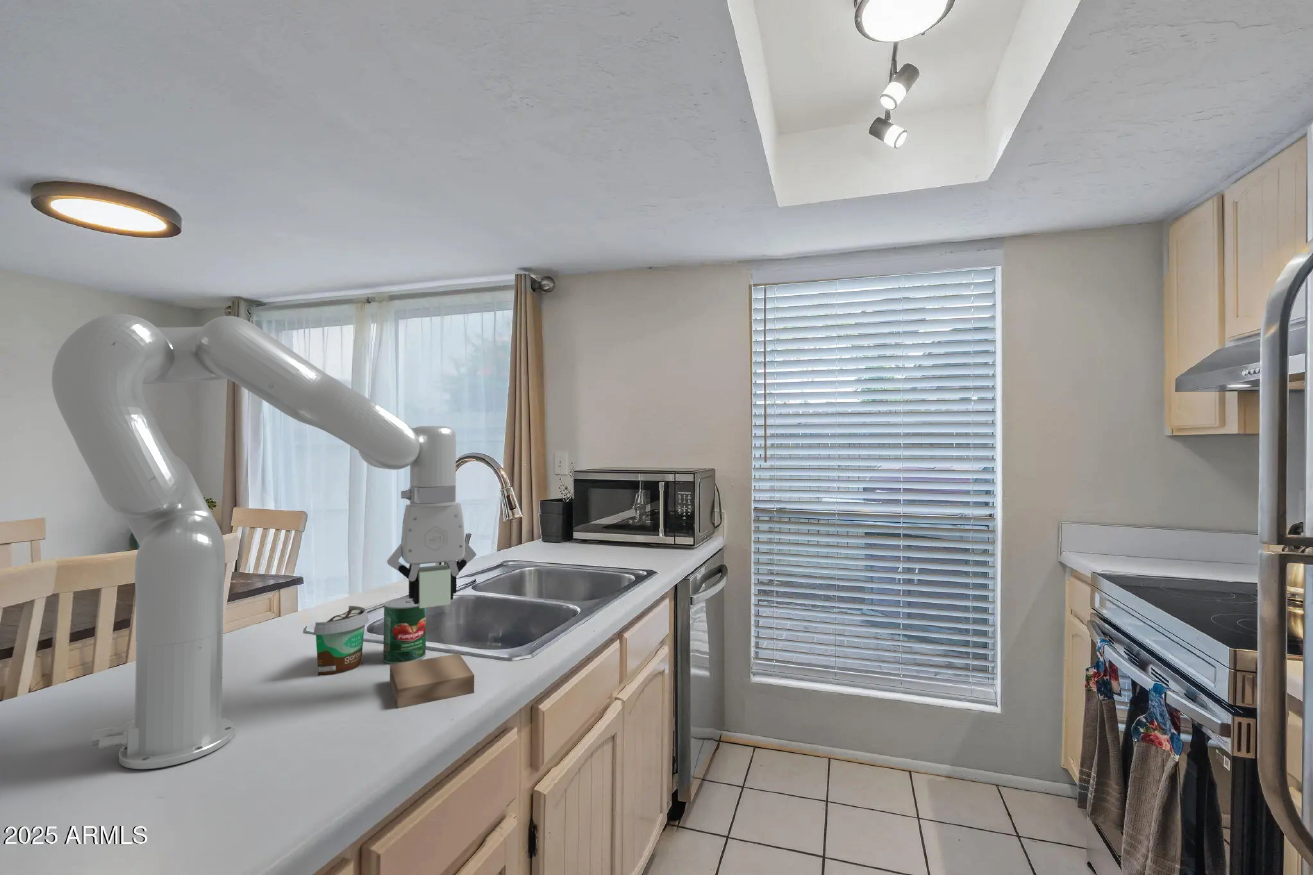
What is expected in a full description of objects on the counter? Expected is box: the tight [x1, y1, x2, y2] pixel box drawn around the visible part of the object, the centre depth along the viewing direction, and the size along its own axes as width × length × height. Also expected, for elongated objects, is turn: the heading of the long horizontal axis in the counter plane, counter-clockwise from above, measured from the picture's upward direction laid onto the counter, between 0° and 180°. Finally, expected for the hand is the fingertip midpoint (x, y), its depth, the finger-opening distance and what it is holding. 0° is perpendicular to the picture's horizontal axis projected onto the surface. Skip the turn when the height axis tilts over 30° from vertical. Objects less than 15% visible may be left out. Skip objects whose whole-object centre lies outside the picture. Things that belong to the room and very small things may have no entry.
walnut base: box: [389, 653, 475, 709], centre depth 103 cm, size 12×12×3 cm
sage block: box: [417, 564, 451, 609], centre depth 103 cm, size 5×5×6 cm
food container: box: [313, 605, 370, 677], centre depth 113 cm, size 12×6×10 cm, turn 179°
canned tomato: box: [382, 596, 427, 665], centre depth 118 cm, size 8×8×11 cm
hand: (432, 598), depth 103 cm, fingers closed on sage block, 5 cm apart
